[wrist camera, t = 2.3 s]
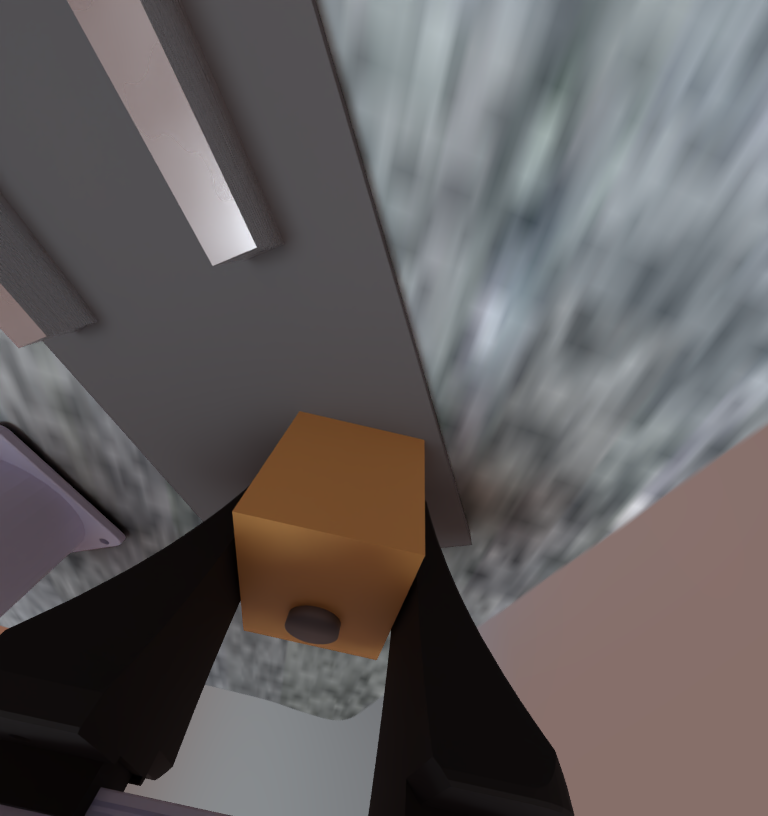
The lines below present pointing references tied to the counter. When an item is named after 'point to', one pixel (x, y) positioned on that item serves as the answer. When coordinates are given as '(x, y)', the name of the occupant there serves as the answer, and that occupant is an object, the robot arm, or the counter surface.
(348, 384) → the mat
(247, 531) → the block
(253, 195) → the sliding latch
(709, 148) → the counter surface
